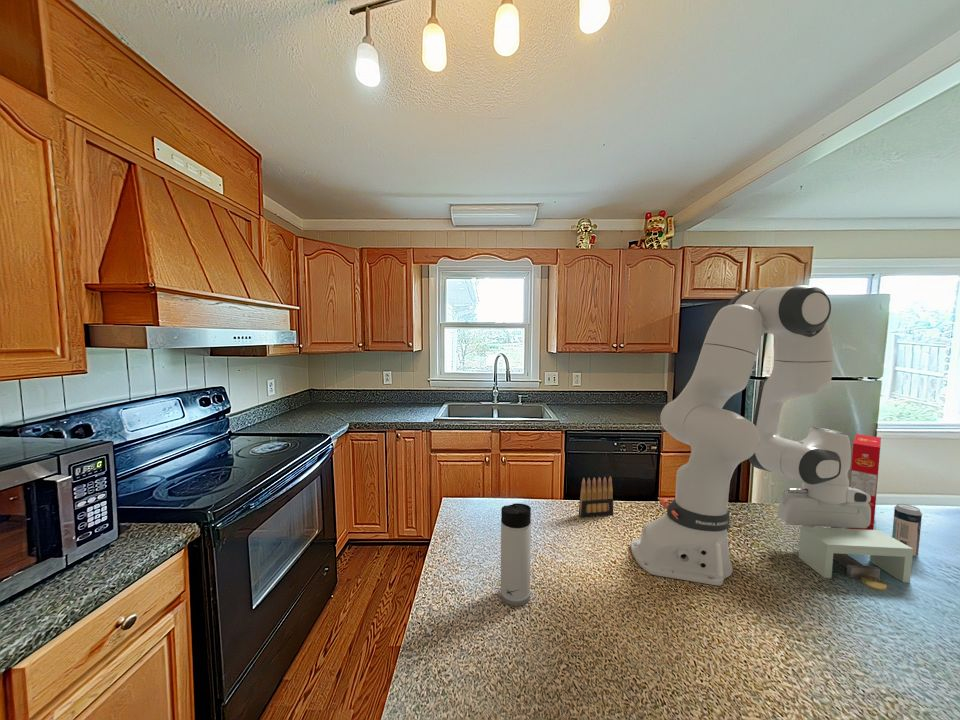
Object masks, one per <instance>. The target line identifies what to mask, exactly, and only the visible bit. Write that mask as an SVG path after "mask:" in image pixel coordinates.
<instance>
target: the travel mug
mask: <svg viewBox="0 0 960 720" xmlns="http://www.w3.org/2000/svg"><path fill="white" fill-rule="evenodd" d="M500 510H501V518H500V519H501V521H500V598H501V600H502V601H503V603H505V604H506V605H509V606H512V607H519V606H520V607H521V606H524V605H525V604H528V602H529V601H530V598H531V553H532V552H531V545H532V543H531V542H532V540H531V539H532V538H531V537H532V536H531V535H532V521H531V519H532V517H531V516H532V513H531V512H532V508H531V507H530V505H528V504H525V503H517V502H515V503H512V504H509V505H504V506H502V507H501V509H500Z"/></svg>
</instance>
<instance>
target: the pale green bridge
mask: <svg viewBox="0 0 960 720" xmlns="http://www.w3.org/2000/svg"><path fill="white" fill-rule="evenodd" d="M799 529H800V530H799V545H798V558H799V559H800V560H801V561H802V562H804V563H805V564H806V565H808V566H809V567H810V568H812V569H813V571H815V572H817V573H818V574H819V575H820V576H821V577H823V578H824V579H825V578H826V579H832V576H833V575H832V574H833V564H834V559H833V553H839V554H847V555H862V556H863V555H864V556H869V562H871V563H872V564H874V566H876V567H877V568H878V567H879V569H880V570H881V569H882V570H883V571H885V572H886V573H888V574H889V575H891V576H893V577H894V578H895V579H897V580H898V581H901V582H902V583H908V584H909V583H911V575H912V565H913V557H914V556H913V548H911V547H909V546H907V545H905V544H904V543H902V542H900V541H898V540H896V539H894V538H892V536H890V535H888V534H887V533H885V532H882V531H881V530H879V529H873V530H863V529H849V528H843V527H842V528H831V527H824V528H820V527H803V526H800V527H799Z"/></svg>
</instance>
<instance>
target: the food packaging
mask: <svg viewBox="0 0 960 720" xmlns="http://www.w3.org/2000/svg"><path fill="white" fill-rule="evenodd" d="M881 441H882V437H879V436H873V435H867V434H860V433H856V434H855V438H854V440H853V444H852V452H851V466H850V479H849V486H852V487H854V488H857V489H859V490H861V491H863V492H865V493H867V494H869V495H870V496H871V500H870V502H869V503H868V504H869V505H870V507H871V522H870V525H869V526H868V527H867V528H848V529H863V530H874V527H875V526H874V525H875V517H876V516H875V515H876V503H877V502H876V501H877V495H878V494H877V491H878V479H879V469H880V467H879V466H880V457H881V455H880V454H881V444H882V443H881Z"/></svg>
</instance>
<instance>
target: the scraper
mask: <svg viewBox="0 0 960 720" xmlns="http://www.w3.org/2000/svg"><path fill="white" fill-rule="evenodd" d="M814 527H820V528H825V526H814ZM833 560H835V561H836V562H837V563H839V564H840V565H842V566H843V567H844V568H846V573H845V574H846V575H845V576H847V577H848V578H850V579H857V580H861V576H862V575H869V576H873V577H876V578H878V579H880V577H881V576H880V574H881V568H880V567H879V568H878V566H877V565H864V564H862V563H861V562H859V561H858V560H856V559H855V558H853V557H852V556H850V554H839V553H833Z"/></svg>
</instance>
